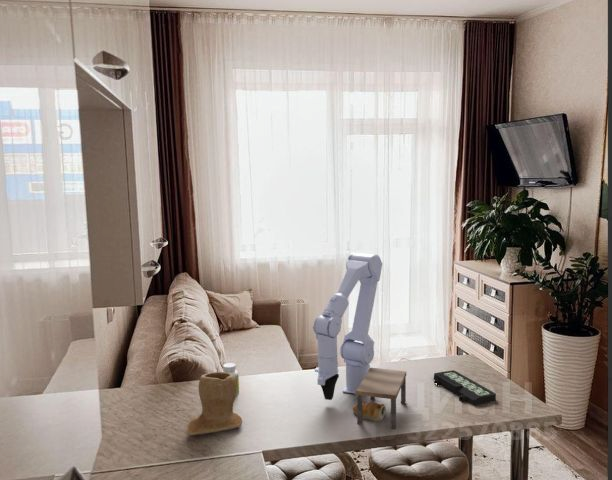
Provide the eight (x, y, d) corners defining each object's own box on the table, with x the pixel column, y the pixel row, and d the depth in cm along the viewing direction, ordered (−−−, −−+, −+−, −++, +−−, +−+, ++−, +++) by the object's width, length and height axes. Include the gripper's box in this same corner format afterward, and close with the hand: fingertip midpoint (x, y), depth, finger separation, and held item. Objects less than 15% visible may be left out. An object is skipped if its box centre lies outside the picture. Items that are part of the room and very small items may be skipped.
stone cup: (237, 413, 153) (235, 364, 151) (245, 432, 142) (242, 379, 140) (184, 422, 148) (182, 371, 146) (188, 442, 137) (185, 387, 135)
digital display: (428, 372, 173) (454, 368, 176) (428, 382, 173) (453, 378, 176) (469, 397, 153) (497, 392, 156) (469, 408, 153) (496, 403, 157)
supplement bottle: (237, 397, 164) (236, 368, 163) (220, 397, 164) (219, 368, 163) (240, 390, 169) (239, 361, 168) (223, 390, 169) (222, 362, 168)
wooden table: (370, 397, 161) (370, 367, 160) (406, 401, 157) (406, 371, 156) (356, 423, 144) (356, 390, 143) (396, 429, 141) (395, 395, 139)
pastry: (349, 417, 149) (349, 404, 148) (357, 408, 155) (357, 395, 155) (381, 423, 145) (381, 410, 145) (387, 413, 151) (387, 400, 151)
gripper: (322, 346, 163) (323, 387, 165) (307, 362, 149) (308, 407, 151) (343, 348, 161) (344, 390, 162) (330, 365, 147) (331, 410, 149)
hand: (328, 398), depth 157 cm, fingers closed
